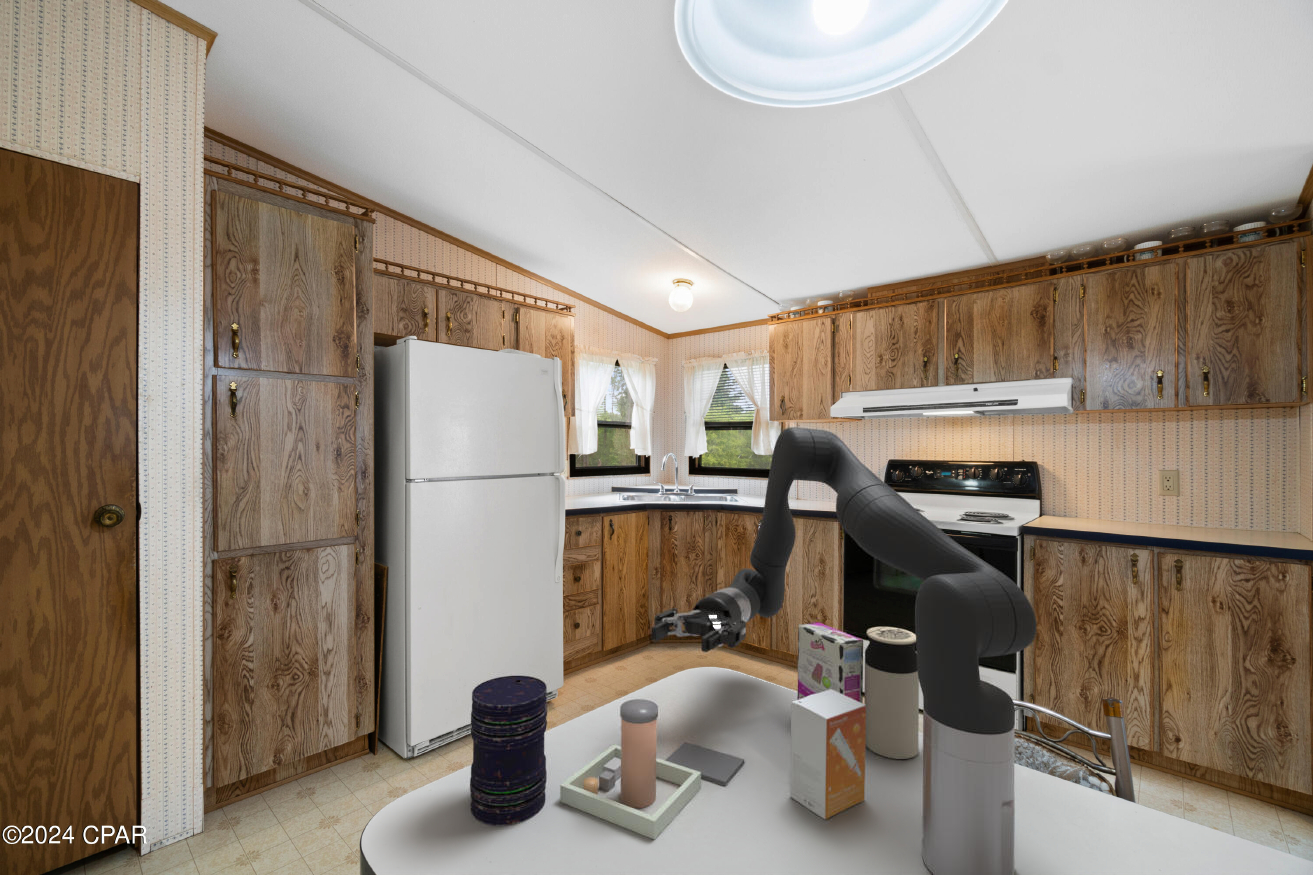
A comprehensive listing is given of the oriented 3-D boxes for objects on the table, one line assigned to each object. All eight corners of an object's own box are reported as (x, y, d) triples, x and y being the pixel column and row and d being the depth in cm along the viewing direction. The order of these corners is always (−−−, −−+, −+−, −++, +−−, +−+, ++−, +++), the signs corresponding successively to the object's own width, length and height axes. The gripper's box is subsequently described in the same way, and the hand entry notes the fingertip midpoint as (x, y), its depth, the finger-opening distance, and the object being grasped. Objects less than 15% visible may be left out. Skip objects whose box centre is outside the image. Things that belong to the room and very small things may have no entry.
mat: (744, 763, 90) (744, 759, 90) (725, 785, 84) (725, 781, 84) (685, 745, 95) (685, 741, 95) (663, 765, 89) (663, 761, 89)
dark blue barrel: (530, 830, 74) (531, 708, 74) (455, 821, 75) (457, 702, 75) (556, 784, 84) (557, 677, 84) (489, 778, 85) (491, 672, 85)
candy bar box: (864, 741, 97) (865, 639, 97) (840, 747, 95) (841, 643, 95) (818, 712, 107) (819, 620, 107) (795, 717, 105) (796, 623, 105)
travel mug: (929, 752, 94) (930, 636, 94) (896, 766, 89) (897, 645, 89) (885, 730, 100) (886, 623, 100) (853, 743, 96) (854, 630, 96)
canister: (664, 793, 82) (664, 704, 82) (644, 813, 77) (645, 719, 78) (632, 782, 84) (633, 696, 84) (611, 800, 80) (612, 709, 80)
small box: (825, 821, 76) (826, 718, 76) (788, 796, 81) (789, 700, 81) (866, 801, 81) (867, 703, 81) (829, 778, 86) (829, 687, 86)
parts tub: (700, 787, 83) (701, 772, 83) (654, 839, 72) (654, 821, 72) (614, 758, 91) (614, 744, 91) (560, 801, 80) (560, 784, 80)
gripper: (686, 585, 108) (638, 607, 94) (761, 597, 101) (721, 623, 87) (686, 627, 108) (638, 655, 94) (761, 642, 101) (721, 674, 87)
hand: (678, 639), depth 91 cm, fingers open, 8 cm apart
